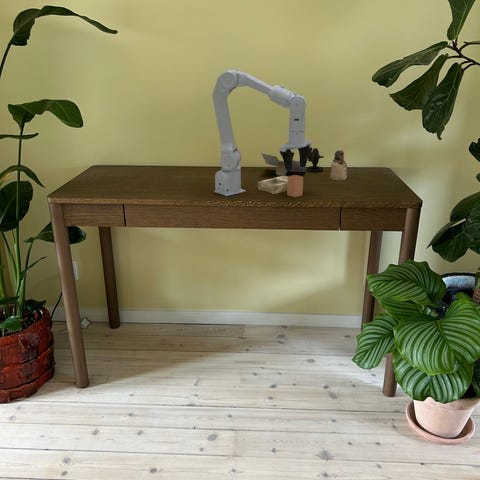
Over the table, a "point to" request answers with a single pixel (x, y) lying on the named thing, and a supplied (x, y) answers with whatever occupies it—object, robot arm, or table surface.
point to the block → (295, 186)
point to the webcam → (314, 161)
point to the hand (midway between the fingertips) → (295, 168)
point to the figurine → (338, 167)
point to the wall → (281, 165)
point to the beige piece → (274, 185)
